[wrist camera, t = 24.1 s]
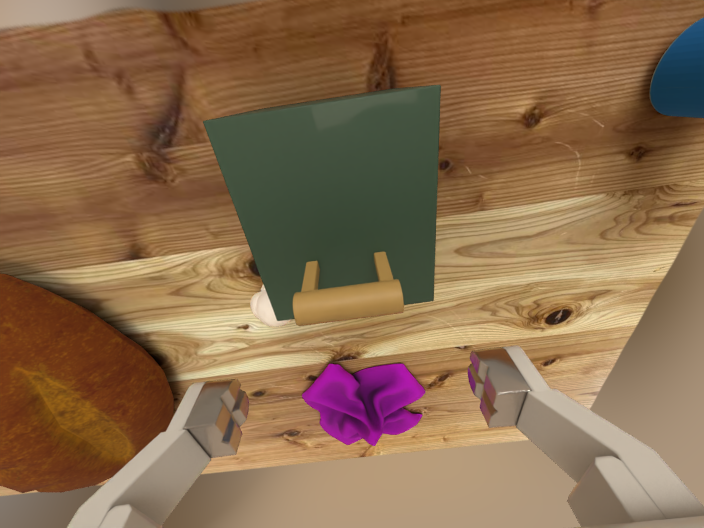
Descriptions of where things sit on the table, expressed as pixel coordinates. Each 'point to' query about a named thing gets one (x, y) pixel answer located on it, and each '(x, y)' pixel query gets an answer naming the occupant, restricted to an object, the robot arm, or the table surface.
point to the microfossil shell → (265, 309)
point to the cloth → (364, 402)
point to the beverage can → (681, 76)
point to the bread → (71, 393)
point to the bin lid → (337, 201)
